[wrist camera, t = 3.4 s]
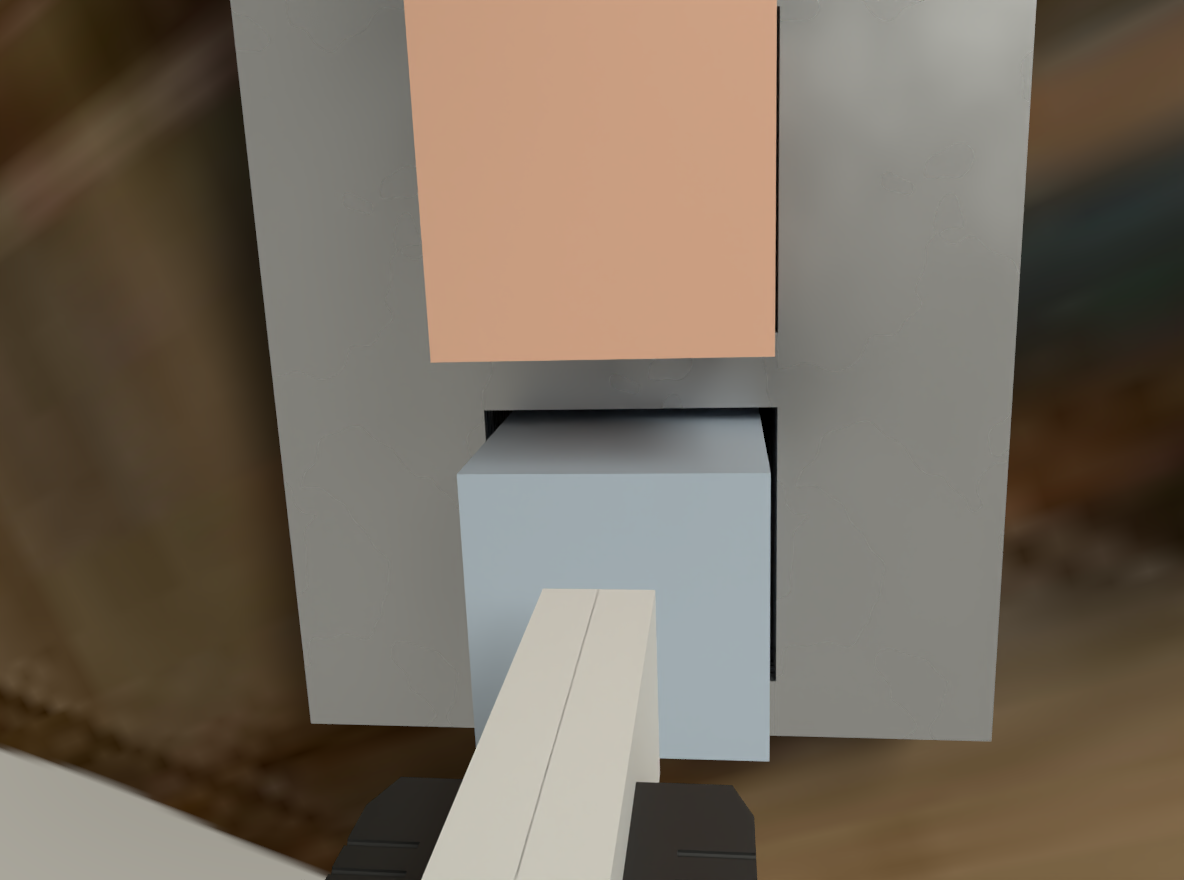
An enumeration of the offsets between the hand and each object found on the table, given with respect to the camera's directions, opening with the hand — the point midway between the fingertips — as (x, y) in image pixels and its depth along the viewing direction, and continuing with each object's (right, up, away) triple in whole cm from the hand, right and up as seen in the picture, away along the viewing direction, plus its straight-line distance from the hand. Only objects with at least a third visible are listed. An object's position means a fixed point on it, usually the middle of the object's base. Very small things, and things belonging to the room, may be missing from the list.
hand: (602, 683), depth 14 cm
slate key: (+1, +2, +8) cm, 8 cm away
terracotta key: (0, +8, +5) cm, 10 cm away
